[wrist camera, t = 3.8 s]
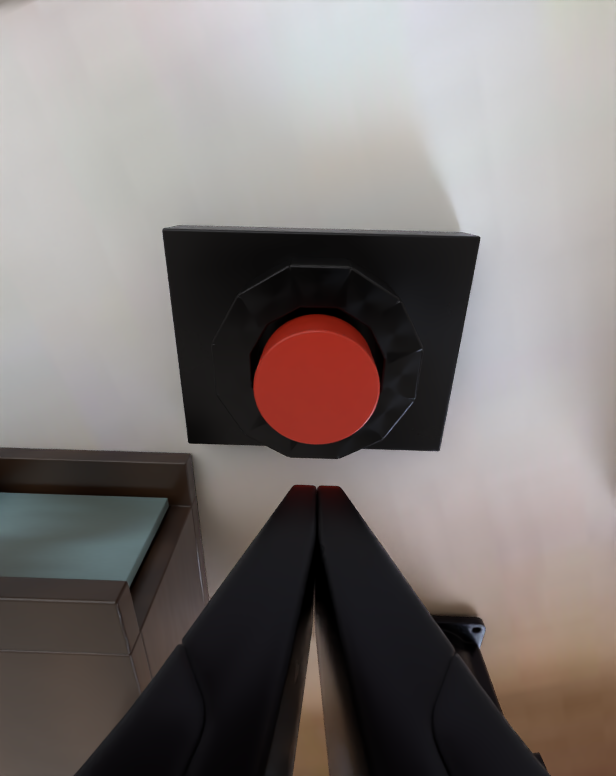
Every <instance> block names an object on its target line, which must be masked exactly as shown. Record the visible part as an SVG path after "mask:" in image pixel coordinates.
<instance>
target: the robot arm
mask: <svg viewBox="0 0 616 776" xmlns="http://www.w3.org/2000/svg"><path fill="white" fill-rule="evenodd" d="M313 610H314V620H315V634H316V644H317V654H318V664H319V675H320V685H321V695H322V705H323V715H324V725H325V735H326V745H327V755H328V766H329V776H551V775H550V774H549V773H548V771H547V769H546V767H545V764H544V762H543V760H542V758H541V755H540V753H539V752H538V753H532V752H531V751H530V749H529V748H528V747H527V746H526V745H525V743H524V742H523V741H522V740H521V738H520V737H519V736H518V735H517V733H516V732H515V731H514V730H513V728H512V727H511V726H510V724H509V723H508V722H507V720H506V719H505V718H504V716H503V713H502V710H501V707H500V704H499V702H498V699H497V696H496V693H495V690H494V688H493V685H492V682H491V679H490V677H489V674H488V671H487V668H486V665H485V663H484V660H483V657H482V654H481V651H480V646H481V643H482V640H483V637H484V633H485V626H484V623H483V621H482V619H480V618H477V617H454V616H431V615H430V613H429V612H428V610H427V609H426V607H425V606H424V605H423V603H422V602H421V600H420V599H419V597H418V596H417V595H416V593H415V592H414V590H413V589H412V588H411V586H410V585H409V583H408V582H407V580H406V579H405V578H404V576H403V575H402V573H401V572H400V571H399V569H398V568H397V566H396V565H395V563H394V562H393V561H392V559H391V558H390V556H389V555H388V554H387V552H386V551H385V549H384V548H383V546H382V545H381V544H380V542H379V541H378V539H377V538H376V536H375V535H374V534H373V532H372V531H371V529H370V528H369V527H368V525H367V524H366V522H365V521H364V519H363V518H362V517H361V515H360V514H359V512H358V511H357V510H356V508H355V507H354V505H353V504H352V502H351V501H350V500H349V498H348V497H347V495H346V494H345V493H344V491H343V490H342V488H341V487H339V486H319V487H318V488H317V489H316V487H315V486H313V485H294V486H293V487H292V488H291V489H290V491H289V492H288V493H287V495H286V496H285V497H284V499H283V500H282V502H281V503H280V504H279V506H278V507H277V509H276V510H275V511H274V513H273V514H272V515H271V517H270V518H269V520H268V521H267V522H266V524H265V525H264V526H263V528H262V529H261V531H260V532H259V533H258V535H257V536H256V537H255V539H254V540H253V542H252V543H251V544H250V546H249V547H248V549H247V550H246V551H245V553H244V554H243V555H242V557H241V558H240V560H239V561H238V562H237V564H236V565H235V566H234V568H233V569H232V571H231V572H230V573H229V575H228V576H227V577H226V579H225V580H224V582H223V583H222V584H221V586H220V587H219V588H218V590H217V591H216V593H215V594H214V595H213V597H212V598H211V600H210V601H209V602H208V604H207V605H206V606H205V608H204V609H203V611H202V612H201V613H200V615H199V616H198V617H197V619H196V620H195V622H194V623H193V624H192V626H191V627H190V628H189V630H188V631H187V633H186V634H185V635H184V637H183V638H182V644H178V645H177V646H176V647H175V649H174V650H173V651H172V653H171V654H170V656H169V657H168V658H167V660H166V661H165V663H164V664H163V665H162V667H161V668H160V669H159V671H158V672H157V674H156V675H155V676H154V677H153V679H152V680H151V681H150V683H149V684H148V685H147V687H146V688H145V689H144V690H143V692H142V693H141V694H140V696H139V697H138V698H137V700H136V701H135V702H134V704H133V705H132V706H131V707H130V709H129V710H128V711H127V713H126V714H125V715H124V716H123V718H122V719H121V720H120V721H119V722H118V724H117V725H116V726H115V727H114V728H113V729H112V731H111V732H110V733H109V734H108V735H107V737H106V738H105V739H104V740H103V741H102V743H101V744H100V745H99V746H98V747H97V748H96V750H95V751H94V752H93V753H92V754H91V756H90V757H89V758H88V759H87V760H86V762H85V763H84V764H83V765H82V766H81V767H80V769H79V770H78V771H77V772H76V773H75V774H74V775H73V776H293V768H294V761H295V753H296V746H297V738H298V731H299V723H300V716H301V708H302V701H303V693H304V686H305V678H306V671H307V664H308V656H309V649H310V641H311V634H312V624H313Z"/></svg>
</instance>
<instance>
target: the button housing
mask: <svg viewBox="0 0 616 776" xmlns="http://www.w3.org/2000/svg"><path fill="white" fill-rule="evenodd" d="M162 232H163V240H164V248H165V256H166V265H167V273H168V281H169V289H170V297H171V305H172V313H173V322H174V330H175V338H176V346H177V354H178V362H179V370H180V378H181V387H182V395H183V403H184V411H185V419H186V427H187V435H188V442H189V443H192V444H224V445H256V446H268V447H269V448H271V449H273V450H275V451H277V452H279V453H281V454H283V455H285V456H287V457H290V458H322V459H338V458H342V457H344V456H347V455H349V454H351V453H354V452H356V451H358V450H360V449H384V450H416V451H439V450H440V446H441V441H442V436H443V431H444V425H445V420H446V415H447V410H448V405H449V399H450V394H451V389H452V384H453V379H454V373H455V368H456V363H457V358H458V353H459V347H460V342H461V337H462V332H463V327H464V321H465V316H466V311H467V306H468V301H469V295H470V290H471V285H472V280H473V275H474V269H475V264H476V259H477V254H478V249H479V243H480V237H479V236H476V235H471V234H467V233H463V232H428V231H389V230H349V229H310V228H270V227H231V226H191V225H178V226H173V227H168V228H164V229H163V230H162ZM309 314H325V315H330V316H334V317H337V318H340V319H342V320H344V321H346V322H348V323H349V324H351V325H352V326H353V327H355V328H356V329H357V330H358V331H359V332H360V333H361V335H362V336H363V337H364V339H365V340H366V342H367V344H368V346H369V348H370V351H371V354H372V356H373V359H374V362H375V365H376V368H377V371H378V375H379V381H380V394H379V399H378V402H377V405H376V408H375V410H374V412H373V414H372V415H371V417H370V418H369V420H368V421H367V422H366V423H365V424H364V426H363V427H361V428H360V429H359V430H358V431H357V432H355V433H354V434H352V435H350V436H349V437H347V438H345V439H342V440H339V441H337V442H333V443H328V444H306V443H301V442H297V441H294V440H291V439H289V438H287V437H285V436H283V435H281V434H280V433H278V432H277V431H276V430H274V429H273V428H272V427H271V426H270V425H269V424H268V423H267V422H266V420H265V419H264V418H263V416H262V415H261V413H260V411H259V409H258V407H257V404H256V401H255V397H254V390H253V385H254V376H255V372H256V369H257V366H258V364H259V361H260V358H261V355H262V352H263V350H264V347H265V345H266V343H267V341H268V340H269V338H270V337H271V335H272V334H273V333H274V332H275V331H276V330H277V329H278V328H279V327H280V326H282V325H283V324H284V323H286V322H288V321H290V320H292V319H294V318H296V317H300V316H303V315H309Z"/></svg>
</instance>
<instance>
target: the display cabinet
mask: <svg viewBox="0 0 616 776" xmlns="http://www.w3.org/2000/svg"><path fill="white" fill-rule="evenodd" d="M208 602H209V597H208V588H207V580H206V572H205V564H204V555H203V547H202V539H201V531H200V522H199V514H198V506H197V498H196V490H195V482H194V474H193V466H192V457H191V454H187V453H155V452H124V451H92V450H60V449H28V448H0V776H73V775H74V774H75V773H76V772H77V771H78V770H79V769H80V767H81V766H82V765H83V764H84V763H85V762H86V760H87V759H88V758H89V757H90V756H91V754H92V753H93V752H94V751H95V750H96V748H97V747H98V746H99V745H100V744H101V743H102V741H103V740H104V739H105V738H106V737H107V735H108V734H109V733H110V732H111V731H112V729H113V728H114V727H115V726H116V725H117V724H118V722H119V721H120V720H121V719H122V718H123V716H124V715H125V714H126V713H127V711H128V710H129V709H130V707H131V706H132V705H133V704H134V702H135V701H136V700H137V698H138V697H139V696H140V694H141V693H142V692H143V690H144V689H145V688H146V687H147V685H148V684H149V683H150V681H151V680H152V679H153V677H154V676H155V675H156V674H157V672H158V671H159V669H160V668H161V667H162V665H163V664H164V663H165V661H166V660H167V658H168V657H169V656H170V654H171V653H172V651H173V650H174V649H175V647H176V646H177V645H178V644H182V638H183V637H184V635H185V634H186V633H187V631H188V630H189V628H190V627H191V626H192V624H193V623H194V622H195V620H196V619H197V617H198V616H199V615H200V613H201V612H202V611H203V609H204V608H205V606H206V605H207V604H208Z"/></svg>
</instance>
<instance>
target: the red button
mask: <svg viewBox="0 0 616 776" xmlns="http://www.w3.org/2000/svg"><path fill="white" fill-rule="evenodd" d="M253 390H254V397H255V401H256V404H257V407H258V409H259V411H260V413H261V415H262V416H263V418H264V419H265V420H266V422H267V423H268V424H269V425H270V426H271V427H272V428H273V429H274V430H276V431H277V432H278V433H280V434H281V435H283V436H285V437H287V438H289V439H291V440H294V441H297V442H301V443H306V444H328V443H333V442H337V441H339V440H342V439H345V438H347V437H349V436H350V435H352V434H354V433H355V432H357V431H358V430H359V429H360V428H361V427H363V426H364V424H365V423H366V422H367V421H368V420H369V418H370V417H371V415H372V414H373V412H374V410H375V408H376V405H377V402H378V399H379V394H380V381H379V375H378V371H377V368H376V365H375V362H374V359H373V356H372V354H371V351H370V348H369V346H368V344H367V342H366V340H365V339H364V337H363V336H362V335H361V333H360V332H359V331H358V330H357V329H356V328H355V327H353V326H352V325H351V324H349V323H348V322H346V321H344V320H342V319H340V318H337V317H334V316H330V315H325V314H309V315H303V316H300V317H296V318H294V319H292V320H290V321H288V322H286V323H284V324H283V325H282V326H280V327H279V328H278V329H277V330H276V331H275V332H274V333H273V334H272V335H271V337H270V338H269V340H268V341H267V343H266V345H265V347H264V350H263V352H262V355H261V358H260V361H259V364H258V366H257V369H256V372H255V376H254V385H253Z"/></svg>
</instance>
